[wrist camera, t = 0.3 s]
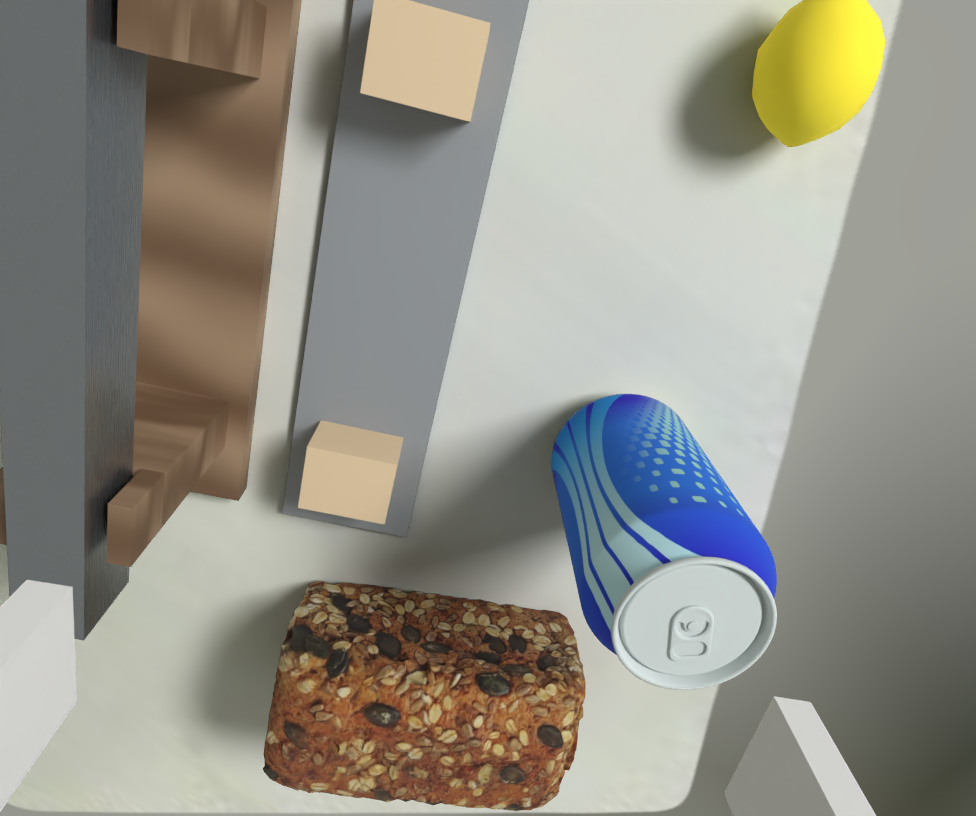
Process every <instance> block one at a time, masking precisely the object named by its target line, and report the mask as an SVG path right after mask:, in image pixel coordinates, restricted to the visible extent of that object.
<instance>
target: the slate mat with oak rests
mask: <svg viewBox="0 0 976 816" xmlns="http://www.w3.org/2000/svg"><path fill="white" fill-rule="evenodd" d="M528 3H529V0H354V1H353V8H352V15H351V23H350V30H349V37H348V44H347V51H346V59H345V66H344V73H343V80H342V87H341V94H340V102H339V109H338V116H337V123H336V130H335V137H334V145H333V152H332V159H331V166H330V173H329V180H328V188H327V195H326V202H325V209H324V216H323V223H322V231H321V238H320V245H319V252H318V259H317V266H316V274H315V281H314V288H313V295H312V302H311V309H310V317H309V324H308V331H307V338H306V345H305V352H304V360H303V367H302V374H301V381H300V388H299V395H298V403H297V410H296V417H295V424H294V431H293V438H292V446H291V453H290V460H289V467H288V474H287V481H286V489H285V496H284V503H283V510H282V514H287V515H293V516H298V517H303V518H308V519H314V520H319V521H324V522H329V523H334V524H340V525H345V526H350V527H355V528H360V529H366V530H371V531H376V532H381V533H386V534H392V535H397V536H402V537H407V532H408V528H409V523H410V519H411V515H412V510H413V506H414V502H415V497H416V493H417V488H418V484H419V480H420V475H421V471H422V467H423V462H424V458H425V453H426V449H427V445H428V440H429V436H430V432H431V427H432V423H433V418H434V414H435V410H436V405H437V401H438V397H439V392H440V388H441V383H442V379H443V375H444V370H445V366H446V362H447V357H448V353H449V348H450V344H451V340H452V335H453V331H454V327H455V322H456V318H457V313H458V309H459V305H460V300H461V296H462V292H463V287H464V283H465V278H466V274H467V270H468V265H469V261H470V257H471V252H472V248H473V243H474V239H475V235H476V230H477V226H478V222H479V217H480V213H481V208H482V204H483V200H484V195H485V191H486V187H487V182H488V178H489V173H490V169H491V165H492V160H493V156H494V152H495V147H496V143H497V138H498V134H499V130H500V125H501V121H502V117H503V112H504V108H505V103H506V99H507V95H508V90H509V86H510V82H511V77H512V73H513V68H514V64H515V60H516V55H517V51H518V47H519V42H520V38H521V33H522V29H523V25H524V20H525V16H526V12H527V7H528Z"/></svg>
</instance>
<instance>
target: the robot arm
mask: <svg viewBox="0 0 976 816" xmlns="http://www.w3.org/2000/svg"><path fill="white" fill-rule="evenodd" d="M76 702H77V693H76V666H75V639H74V612H73V587H70V586H64V585H58V584H51V583H45V582H38V581H32V580H26V581H25V582H24V583H23V584H22V585H21V586H20V587H19V588H18V589H17V590H16V591H15V592H14V593H13V594H12V595H11V596H10V597H9V598H8V599H7V600H6V601H5V602H4V603H3V604H2V605H1V606H0V812H1V810H2V809H3V807H4V806H5V804H6V803H7V802H8V800H9V799H10V797H11V796H12V794H13V793H14V791H15V790H16V789H17V787H18V786H19V784H20V783H21V781H22V780H23V779H24V777H25V776H26V774H27V773H28V771H29V770H30V768H31V767H32V766H33V764H34V763H35V761H36V760H37V758H38V757H39V755H40V754H41V753H42V751H43V750H44V748H45V747H46V745H47V744H48V742H49V741H50V740H51V738H52V737H53V735H54V734H55V732H56V731H57V730H58V728H59V727H60V725H61V724H62V722H63V721H64V719H65V718H66V717H67V715H68V714H69V712H70V711H71V709H72V708H73V706H74V705H75V704H76ZM725 795H726V798H727V800H728V803H729V806H730V808H731V811H732V814H733V816H876V815H875V813H874V811H873V810H872V808H871V806H870V804H869V803H868V801H867V799H866V798H865V796H864V794H863V792H862V790H861V789H860V787H859V785H858V784H857V782H856V780H855V778H854V777H853V775H852V773H851V771H850V770H849V768H848V766H847V764H846V763H845V761H844V759H843V757H842V756H841V754H840V752H839V751H838V749H837V747H836V746H835V744H834V742H833V740H832V739H831V737H830V735H829V733H828V731H827V730H826V728H825V726H824V725H823V723H822V721H821V719H820V718H819V716H818V714H817V712H816V711H815V709H814V707H813V705H812V704H811V702H806V701H800V700H793V699H786V698H780V697H773V699H772V701H771V703H770V705H769V707H768V709H767V711H766V713H765V715H764V717H763V719H762V721H761V723H760V725H759V727H758V729H757V730H756V732H755V734H754V736H753V738H752V740H751V742H750V744H749V746H748V748H747V750H746V752H745V754H744V756H743V758H742V760H741V762H740V764H739V766H738V767H737V770H736V771H735V773H734V775H733V777H732V779H731V781H730V783H729V785H728V787H727V789H726V791H725Z"/></svg>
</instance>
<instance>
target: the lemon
mask: <svg viewBox="0 0 976 816" xmlns="http://www.w3.org/2000/svg"><path fill="white" fill-rule="evenodd" d="M884 47H885V39H884V34H883V28H882V23H881V20H880V19H879V17H878V16H877V14H876V13H875V12H874V10H873V9H872V7H871V6H870V5H869V3H868V2H867V1H866V0H803V1H802V2H800V3H799V4H797V5H796V6H794V7H793V8H791V9H789V11H788V12H787V13H786V14H785V15H784V17H783V18H782V19H781V20H780V21H779V23H778V24H777V25H776V26H775V27H774V28H773V30H772V31H771V33H770V34H769V35H768V37H767V38H766V40H765V41H764V42H763V44H762V45H761V47H760V48H759V49H758V53H757V58H756V64H755V69H754V76H753V87H752V98H753V101H754V104H755V107H756V109H757V112H758V115H759V117H760V119H761V120H762V122H763V123H764V125H765V126H766V128H767V129H768V131H769V132H770V133H772V134H773V135H774V136H775V137H776V138H777V139H778V140H779V141H780V142H781V143H783V144H784V145H786V146H788V147H794V146H800V145H802V144H805V143H808V142H811V141H814V140H816V139H819V138H821V137H824V136H826V135H828V134H830V133H832V132H834V131H837V130H839V129H840V128H841V127H842V126H844V125H845V124H846V123H847V122H848V121H849V120H850V119H852V118H853V117H854V116H855V115H856V114H857V113H859V111H860V110H861V108H862V107H863V105H864V104H865V102H866V101H867V99H868V98H869V96H870V95H871V93H872V92H873V89H874V86H875V83H876V81H877V78H878V75H879V72H880V70H881V67H882V60H883V53H884Z"/></svg>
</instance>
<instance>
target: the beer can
mask: <svg viewBox="0 0 976 816" xmlns="http://www.w3.org/2000/svg"><path fill="white" fill-rule="evenodd" d="M551 462H552V472H553V477H554V481H555V486H556V491H557V495H558V500H559V505H560V509H561V514H562V519H563V523H564V528H565V533H566V537H567V542H568V546H569V551H570V556H571V560H572V565H573V570H574V574H575V579H576V584H577V588H578V593H579V598H580V602H581V607H582V610H583V614H584V616H585V619H586V621H587V624H588V625H589V627H590V629H591V631H592V632H593V633H594V635H595V636H596V637H597V638H598V640H599V641H600V642H601V643H602V644H603V645H604V646H605V647H607V648H608V649H609V650H610V651H612V652H613V653H615V654H616V655H617V656H618V658H619V660H620V661H621V662H622V664H623V665H624V666H625V667H626V668H627V669H628V670H629V671H630V672H631V673H632V674H633V675H635V676H636V677H638V678H639V679H641V680H643V681H645V682H647V683H650V684H652V685H655V686H658V687H662V688H668V689H676V690H691V689H700V688H705V687H710V686H713V685H717V684H720V683H722V682H725V681H727V680H729V679H731V678H733V677H735V676H737V675H739V674H740V673H742V672H743V671H745V670H746V669H747V668H749V667H750V666H751V665H752V664H753V663H755V661H757V660H758V659H759V657H760V656H761V655H762V654H763V652H764V651H765V650H766V648H767V647H768V645H769V644H770V641H771V639H772V637H773V634H774V632H775V627H776V620H777V611H776V605H775V601H774V596H775V592H776V583H777V581H776V568H775V563H774V559H773V556H772V554H771V551H770V549H769V547H768V545H767V543H766V542H765V540H764V539H763V537H762V536H761V534H760V533H759V531H758V530H757V528H756V527H755V525H754V524H753V523H752V521H751V520H750V518H749V517H748V515H747V514H746V512H745V511H744V510H743V508H742V507H741V505H740V504H739V502H738V501H737V499H736V498H735V497H734V495H733V494H732V492H731V491H730V489H729V488H728V486H727V485H726V484H725V482H724V481H723V479H722V478H721V476H720V475H719V473H718V472H717V470H716V469H715V468H714V466H713V465H712V463H711V462H710V460H709V459H708V457H707V456H706V455H705V453H704V452H703V450H702V449H701V447H700V446H699V444H698V443H697V442H696V440H695V439H694V437H693V436H692V434H691V433H690V431H689V430H688V429H687V427H686V426H685V424H684V423H683V421H682V420H681V419H680V417H679V416H678V415H677V414H676V413H675V412H674V411H673V410H672V409H671V408H669V407H668V406H666V405H665V404H663V403H662V402H660V401H658V400H656V399H653V398H650V397H647V396H643V395H638V394H616V395H611V396H607V397H603V398H600V399H598V400H595V401H593V402H591V403H589V404H587V405H586V406H584V407H582V408H581V409H580V410H578V411H577V412H576V413H575V414H573V415H572V416H571V417H570V418H569V419H568V421H567V422H566V423H565V424H564V426H563V427H562V429H561V430H560V432H559V434H558V436H557V438H556V441H555V443H554V447H553V452H552V461H551Z"/></svg>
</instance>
